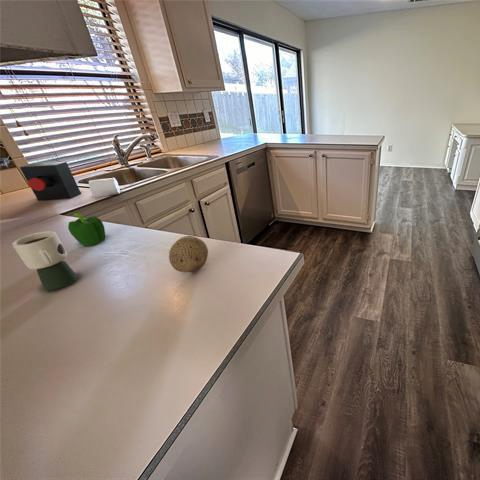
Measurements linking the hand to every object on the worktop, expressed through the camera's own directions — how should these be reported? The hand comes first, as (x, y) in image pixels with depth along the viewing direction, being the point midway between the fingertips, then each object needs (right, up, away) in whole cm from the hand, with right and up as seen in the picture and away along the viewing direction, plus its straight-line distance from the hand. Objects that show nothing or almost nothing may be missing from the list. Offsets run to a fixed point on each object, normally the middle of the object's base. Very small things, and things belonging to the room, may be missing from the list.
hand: (6, 160), depth 105 cm
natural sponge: (+93, -40, -37) cm, 108 cm away
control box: (-3, -11, +24) cm, 27 cm away
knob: (-1, -8, +16) cm, 18 cm away
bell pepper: (+53, -33, -21) cm, 66 cm away
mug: (+20, -9, +27) cm, 34 cm away
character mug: (+62, -43, -40) cm, 86 cm away
